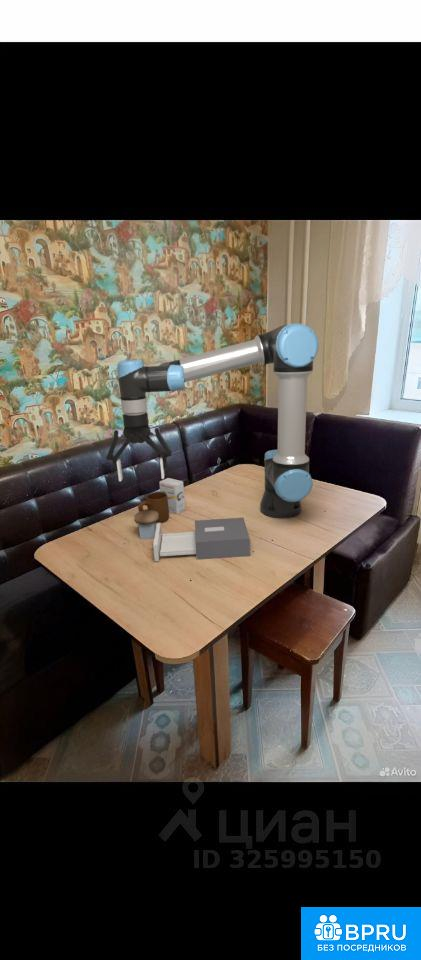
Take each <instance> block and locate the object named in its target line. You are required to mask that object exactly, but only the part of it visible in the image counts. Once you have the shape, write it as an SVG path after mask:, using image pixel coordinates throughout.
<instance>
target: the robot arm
mask: <svg viewBox="0 0 421 960" xmlns="http://www.w3.org/2000/svg"><path fill="white" fill-rule="evenodd" d="M318 352H319V339H318V335H317V334H316V333H315V331H314V330H313V329H312V328H311V327H310V326H308V325H306V324H304V323H303V324H302V323H296V322H295V323H289V324H284V325H281V326H279V327H276V328H273V329H272V330H268V331H267V332H264V333H261V334H258V335H255V337H254V339H251V340H246V341H243V342H240V343H235V344H232V345H228V346H224V347H221V348H217V349H213V350H210V351H206V352H205V351H204V352H202V353H198V354H195V355H191V356H187V357H184V358H180V359H175V360H172V361H166V362H163V363H160V364H159V365H153V366H151V365H150V366H144V362H143V360H141V359H129V360H128V359H127V360H120V361H119V362H118V363H117V364H116V365H117V381H118V387H119V394H120V395H119V396H120V406H121V411H122V413H123V415H122V421H123V429H119V428H116V429H114V432H113V440H112V442H111V445H110V448H109V451H108V453H107V455H106V459H107V460H109V461H112V462H113V463H112V465H113V470H114V471H115V472H116V471H117V475H118V482H122V480H123V479H124V478H123V477H124V476H123V471H122V470H123V469H122V462H121V459H119V457H120V456H121V455H122V453H123V452H124V451H125V450H126V448H127V446H128V445H129V444H130V443H131V444H133V445H134V444H144V443H146V444H147V445H149V446H150V447H151V448H152V449H153V450H154V451H155V452H156V454H158V455H159V457H160V458H159V461H160V462H159V463H160V473H161V474H160V475H161V479H162V480H164V479H165V469H167V467H168V459H167V458H168V457H171V456H172V453H173V452H172V450H171V448H170V447H169V444H167V442H166V440H165V439H164V437H163V435H162V434H161V430H160V427H159V426H155V427H153V428H150V425H149V424H150V423H149V414H148V413H147V412H148V405H147V396H146V395H147V393H156V392H157V393H160V392H161V393H162V392H164V393H165V392H174V393H175V392H177V391H179V392H180V391H184V389H185V388H186V387H185V384H186V383H188V382H191V381H195V380H200V379H202V378H207V377H211V376H214V375H215V376H216V375H219V374H223V373H227V372H230V371H235V370H238V369H243V368H246V367H249V366H254V365H257V364H260V365H261V366H265V365H271V364H273V371H272V372H273V373H274V375H276V377H277V378H278V382H277V383H278V386H277V388H278V391H277V392H278V394H277V395H278V397H277V398H278V400H277V449H272V450H268V451H266V452H265V453H264V459H263V461H264V491H263V494H262V498H261V500H260V504H259V506H260V507H259V509H260V511H259V512H261V514H262V515H265V516H268V517H270V518H276V519H287V518H288V519H289V518H292V517H295V516H298V515H299V514H301V512H302V503H301V501H302V500H304V499H305V498H306V497H307V496H308V495H310V493H311V491H312V489H313V479H312V476H311V473H310V457H309V456H308V455H306V453H305V451H306V430H307V429H306V425H307V424H306V423H307V400H308V399H307V396H308V393H307V392H308V377H309V376H310V375H311V374H312V373H313V371H314V367H313V366H314V360H315V359H316V357H317V353H318ZM151 433H152V434H153V435H154V436H156V439H157V440H158V441H159V443H160V446H161V447H162V448H163V449H162V448H161V447H160V446H159V445H158V444H157V443H156V442H155V441H154V440H153V439H152V438H151V437H150V434H151ZM122 435H123V436H124V437H125V439H126V440H125V441H124V442H123V443H122V445H121V447H120V448H119V449H118V451H117V452H116V453H115V454H114V452H115V449H116V447H117V444H118V441H119V438H121V436H122ZM113 454H114V455H113Z"/></svg>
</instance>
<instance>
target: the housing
mask: <svg viewBox="0 0 421 960" xmlns="http://www.w3.org/2000/svg"><path fill="white" fill-rule="evenodd" d="M245 521H246V520H245V518H244V517H235V518H234V517H232V518H231V517H228V518H227V517H226V518H218V519H216V518H215V519H213V518H212V519H199V520H194V532H195V541H196V554H195V555H196V560H197V561H198V560H210V559H223V558H227V559H228V558H239V557H240V558H241V557H250V556H251V537H250V535H249V532H248V528H247V525H246V522H245Z"/></svg>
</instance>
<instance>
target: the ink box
mask: <svg viewBox="0 0 421 960" xmlns="http://www.w3.org/2000/svg"><path fill="white" fill-rule="evenodd" d="M184 487H185V486H184V481H183V480H179V479H174V478H170V477H167V478H164V479H162V480H160V481H159V492H162V493H165V494H167V499H168V508H169V513H172V514H176V515H178V514H180V513H182V512H184V511H185V510H186V501H185V488H184Z"/></svg>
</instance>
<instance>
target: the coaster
mask: <svg viewBox="0 0 421 960" xmlns="http://www.w3.org/2000/svg"><path fill="white" fill-rule="evenodd" d="M144 510H145V511H141V512H139V511H138V512H136V513H135V514H134V515H133V517H134V522H135V524H137V525H139V524H141V525H147V524H152V523H155V522H156V521H158V520H159V514H158V512H157V511H153V510H146V509H144Z"/></svg>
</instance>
